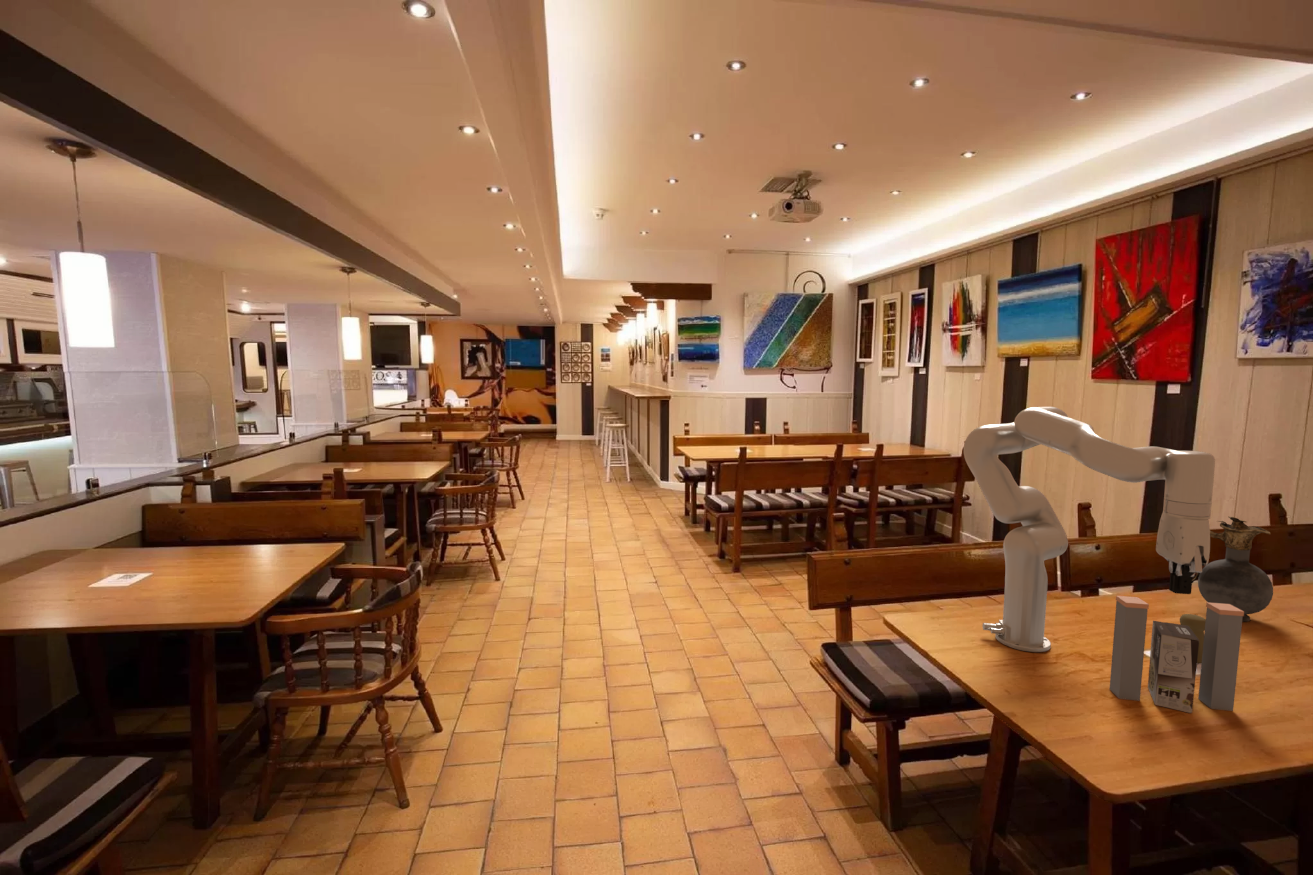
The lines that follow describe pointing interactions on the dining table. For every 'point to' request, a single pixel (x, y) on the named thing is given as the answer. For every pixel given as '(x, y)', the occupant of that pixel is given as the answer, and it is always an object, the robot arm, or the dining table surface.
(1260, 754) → the dining table surface
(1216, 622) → the post far
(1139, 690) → the post near base
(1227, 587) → the pitcher
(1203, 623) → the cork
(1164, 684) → the coffee box
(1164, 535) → the robot arm
